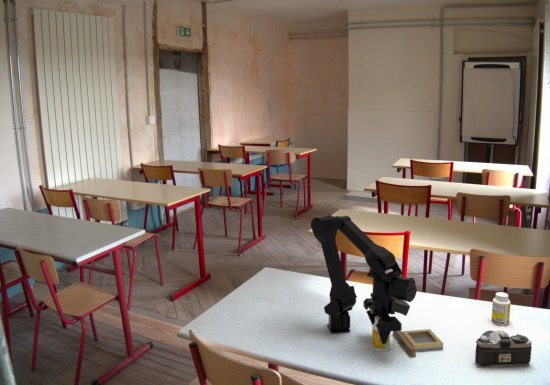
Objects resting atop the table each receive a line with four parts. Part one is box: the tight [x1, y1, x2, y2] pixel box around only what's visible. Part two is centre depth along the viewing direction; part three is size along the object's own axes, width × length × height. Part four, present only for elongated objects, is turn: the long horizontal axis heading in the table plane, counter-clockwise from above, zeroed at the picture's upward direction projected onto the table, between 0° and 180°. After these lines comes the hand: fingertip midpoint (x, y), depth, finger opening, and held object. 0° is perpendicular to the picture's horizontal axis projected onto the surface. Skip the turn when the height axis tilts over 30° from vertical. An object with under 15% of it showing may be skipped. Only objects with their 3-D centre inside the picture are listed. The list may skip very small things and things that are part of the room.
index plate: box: [401, 328, 444, 353], centre depth 155 cm, size 10×10×2 cm
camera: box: [474, 329, 533, 368], centre depth 145 cm, size 16×10×10 cm, turn 91°
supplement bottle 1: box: [371, 316, 391, 351], centre depth 153 cm, size 5×5×10 cm
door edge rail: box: [392, 330, 417, 358], centre depth 155 cm, size 2×15×2 cm, turn 7°
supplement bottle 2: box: [491, 291, 511, 326], centre depth 168 cm, size 6×6×10 cm
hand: (380, 339), depth 154 cm, fingers closed on supplement bottle 1, 5 cm apart
